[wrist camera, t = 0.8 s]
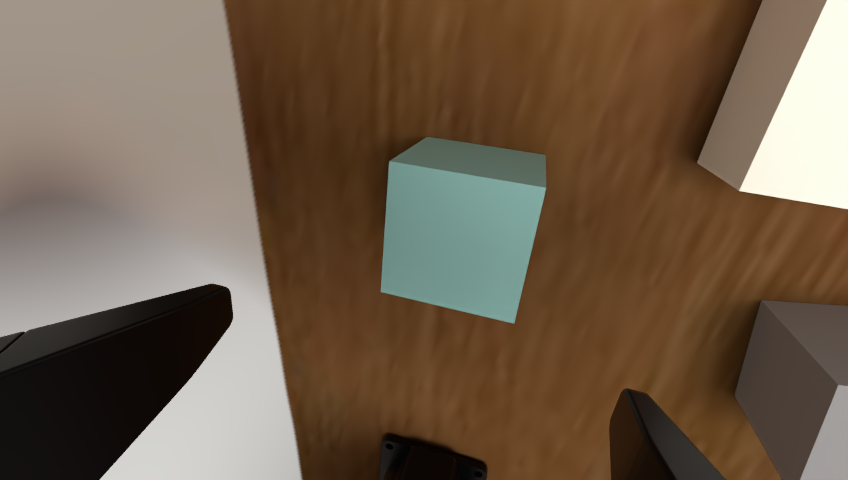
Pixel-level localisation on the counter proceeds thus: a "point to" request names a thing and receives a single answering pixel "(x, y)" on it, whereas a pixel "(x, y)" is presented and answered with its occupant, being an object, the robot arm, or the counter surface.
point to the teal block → (462, 225)
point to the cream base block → (787, 106)
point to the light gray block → (799, 388)
